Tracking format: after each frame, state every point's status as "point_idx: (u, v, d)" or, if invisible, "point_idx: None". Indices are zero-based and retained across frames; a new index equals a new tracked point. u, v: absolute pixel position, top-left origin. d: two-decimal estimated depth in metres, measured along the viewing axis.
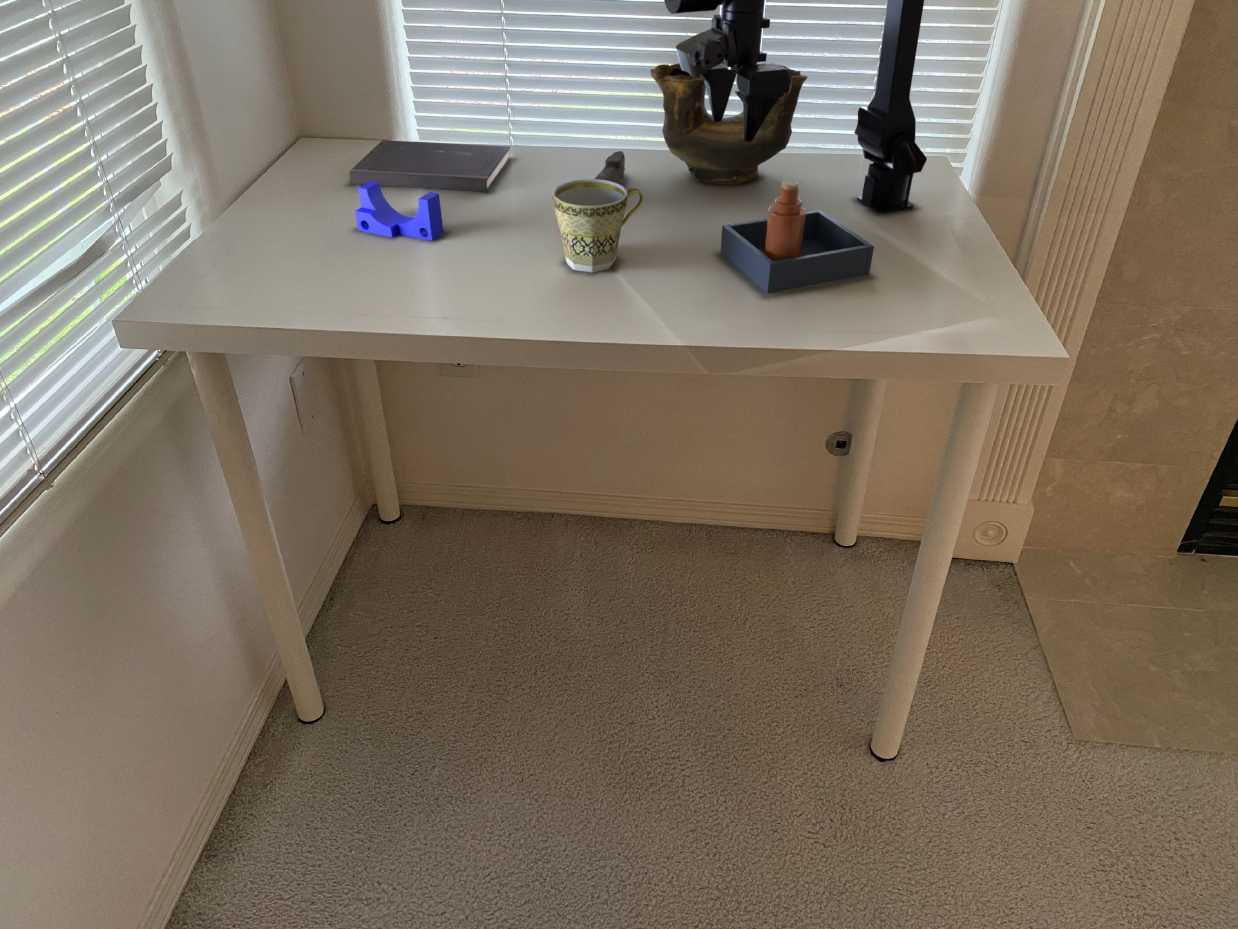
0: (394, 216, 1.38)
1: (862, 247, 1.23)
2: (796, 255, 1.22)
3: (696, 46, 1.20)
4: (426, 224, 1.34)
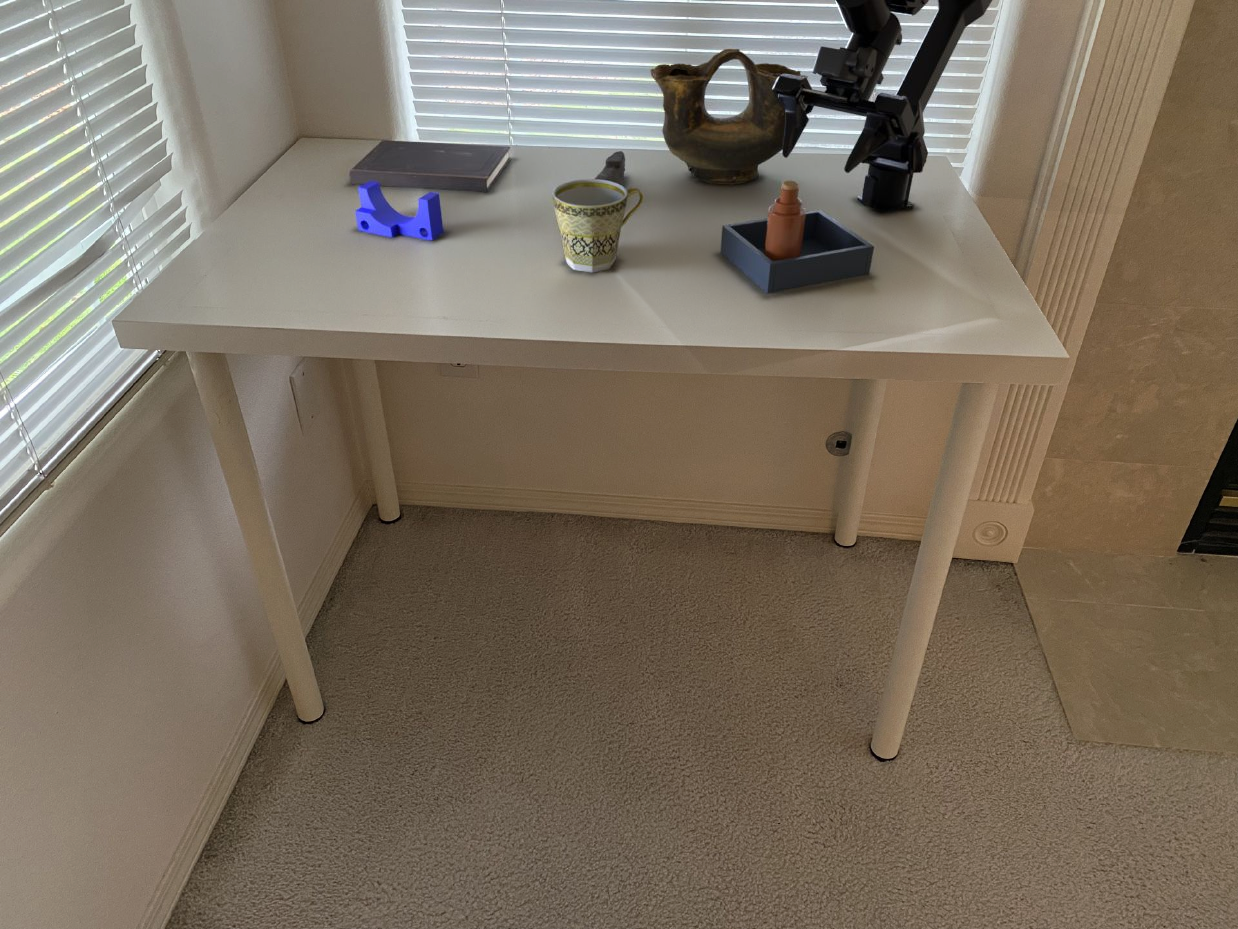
0: (394, 216, 1.38)
1: (862, 247, 1.23)
2: (796, 255, 1.22)
3: None
4: (426, 224, 1.34)
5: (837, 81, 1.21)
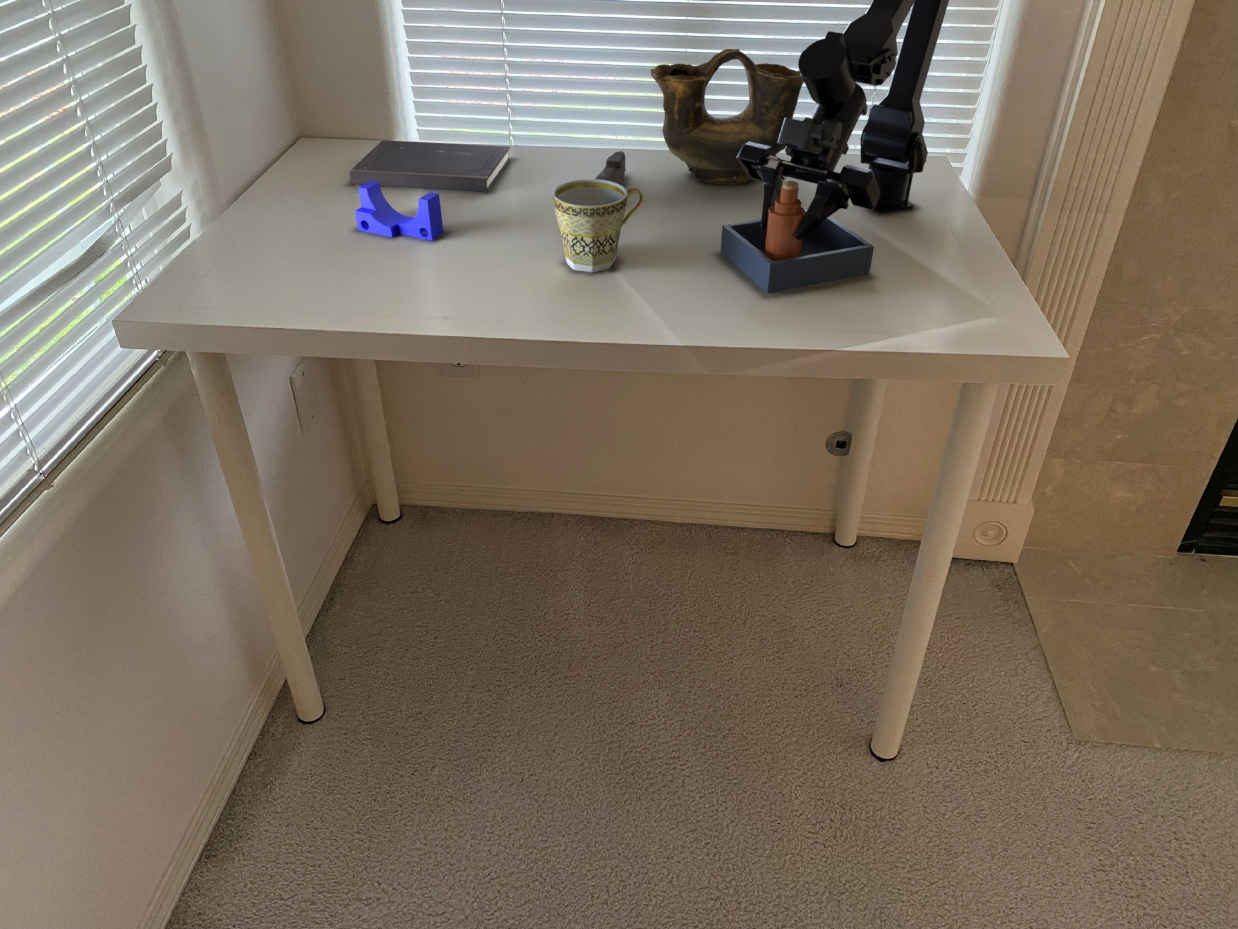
0: (394, 216, 1.38)
1: (862, 247, 1.23)
2: (796, 255, 1.22)
3: None
4: (426, 224, 1.34)
5: (802, 151, 1.19)
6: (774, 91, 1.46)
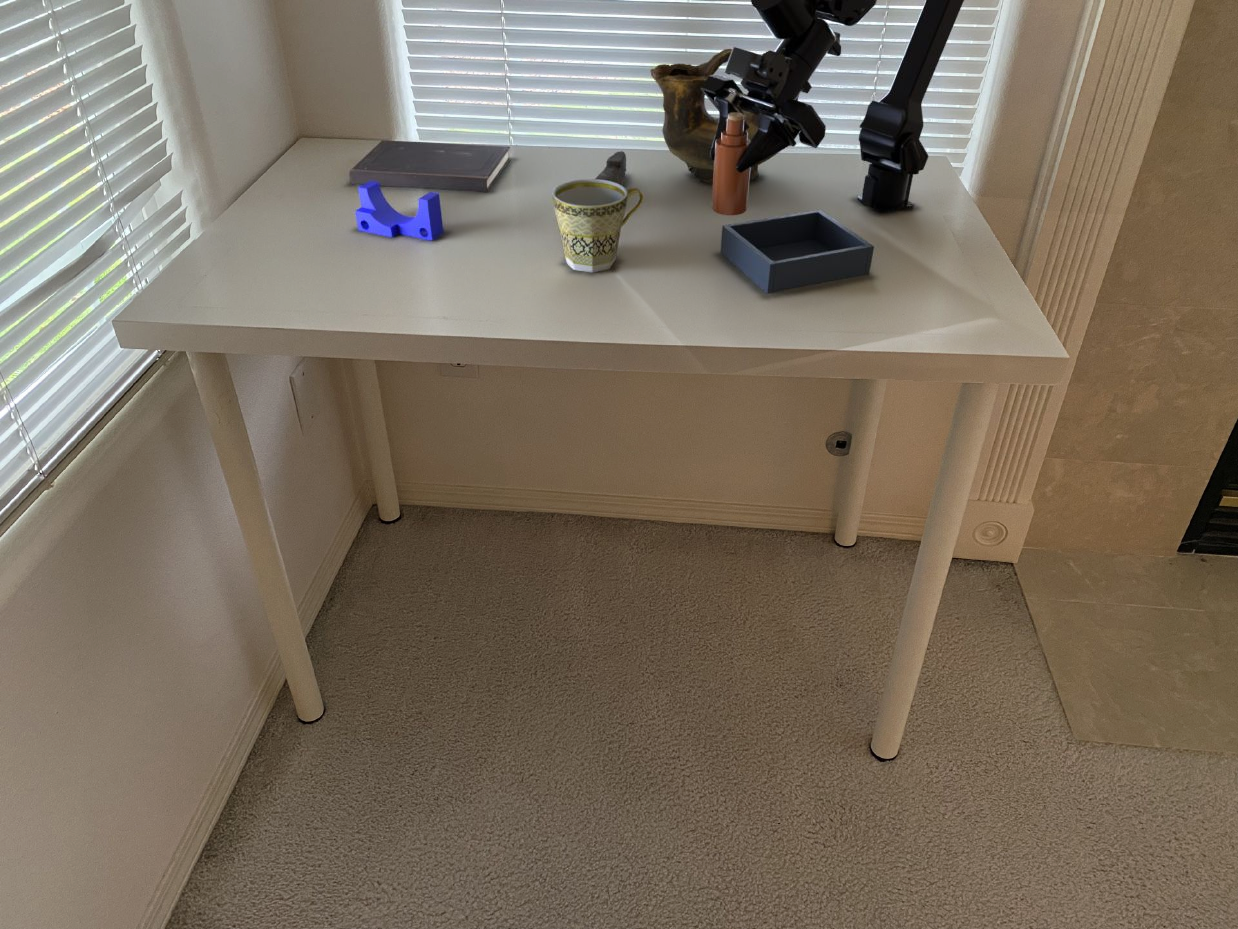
0: (394, 216, 1.38)
1: (862, 247, 1.23)
2: (740, 189, 1.23)
3: None
4: (426, 224, 1.34)
5: (755, 84, 1.20)
6: None
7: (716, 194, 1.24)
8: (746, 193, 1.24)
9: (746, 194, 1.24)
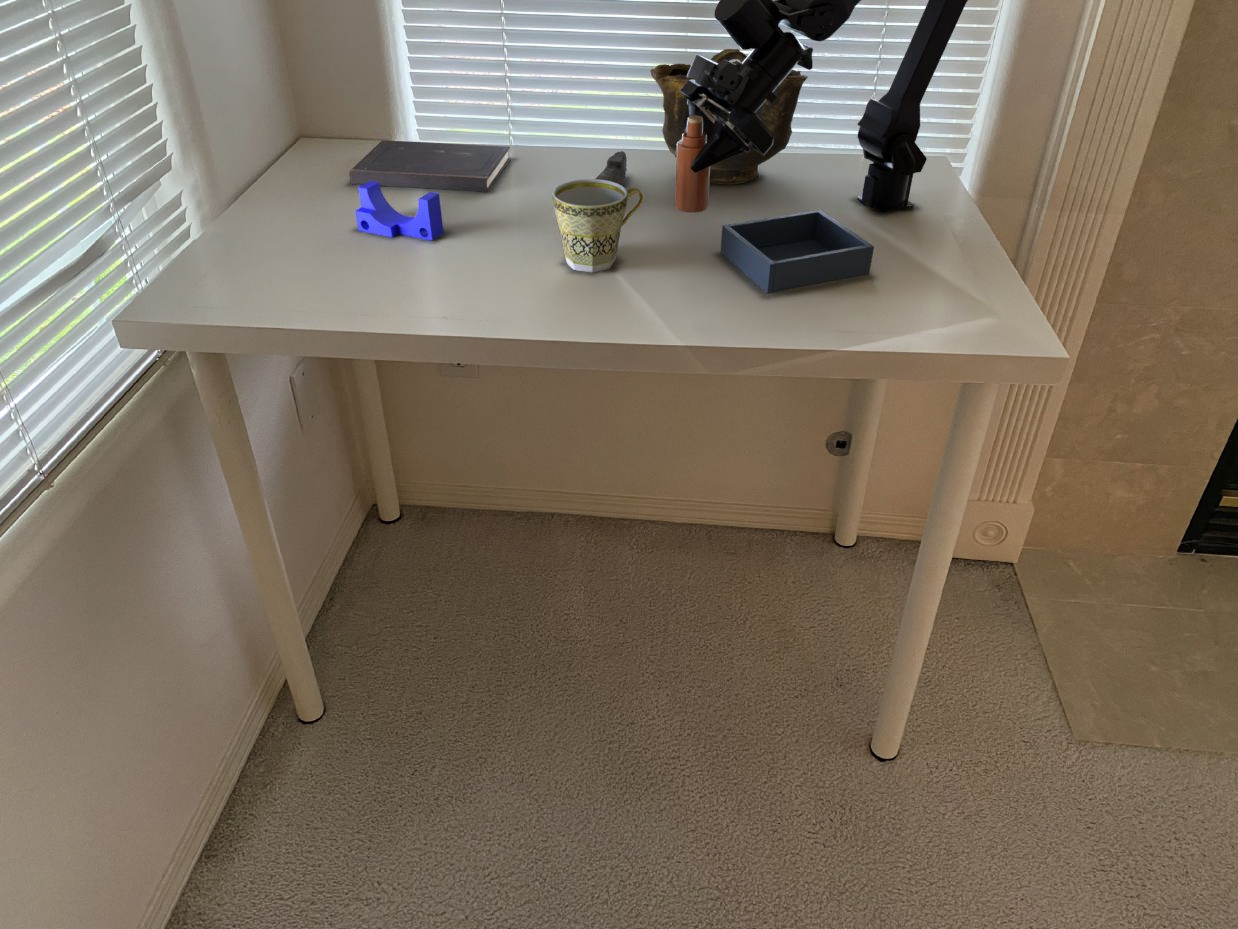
0: (394, 216, 1.38)
1: (862, 247, 1.23)
2: (696, 188, 1.30)
3: (716, 63, 1.22)
4: (426, 224, 1.34)
5: (719, 91, 1.27)
6: (774, 91, 1.46)
7: (676, 191, 1.32)
8: (704, 193, 1.31)
9: (704, 194, 1.31)
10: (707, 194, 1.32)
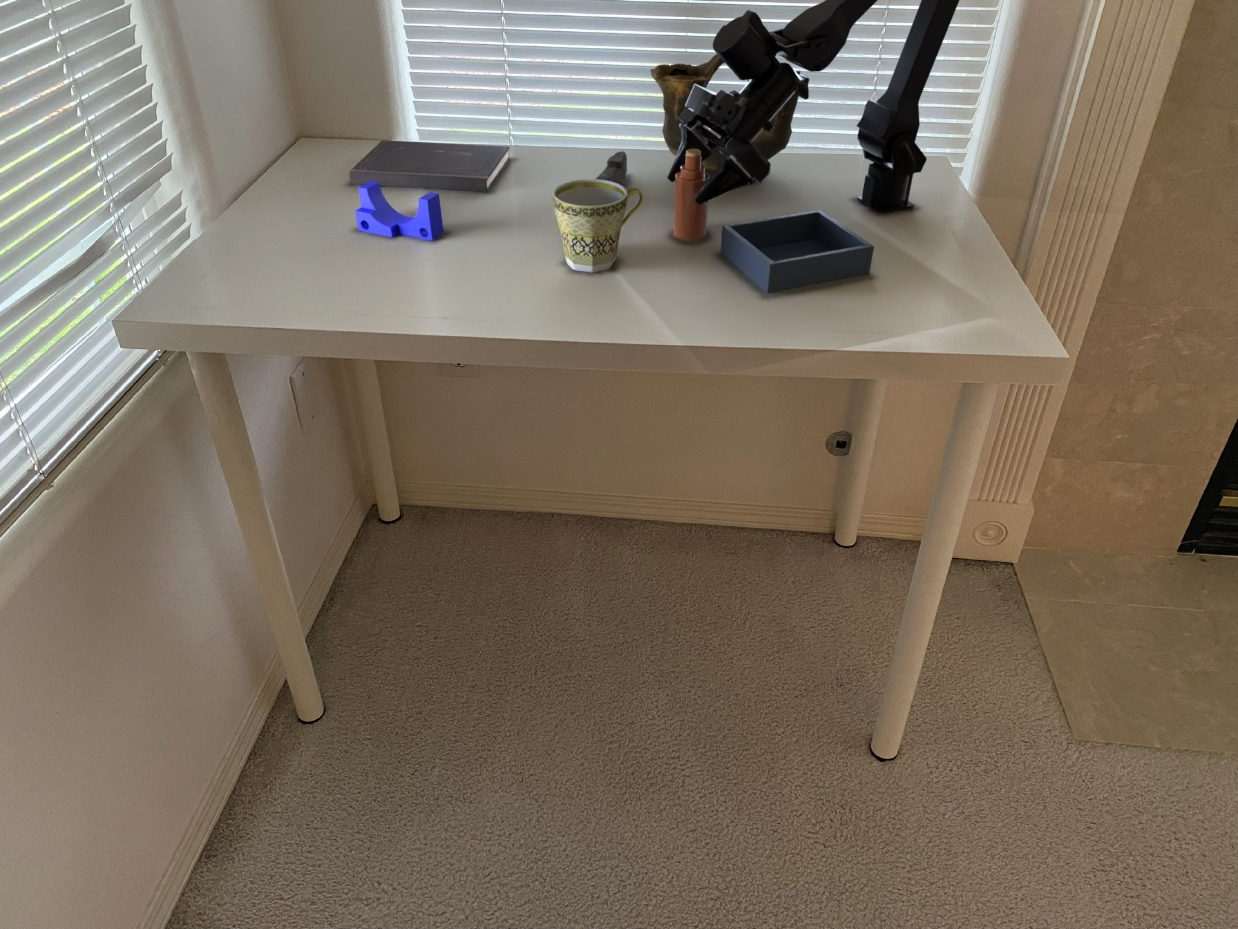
0: (394, 216, 1.38)
1: (862, 247, 1.23)
2: (694, 219, 1.33)
3: (714, 93, 1.25)
4: (426, 224, 1.34)
5: None
6: None
7: (674, 222, 1.35)
8: (702, 224, 1.34)
9: (702, 224, 1.34)
10: (705, 225, 1.35)
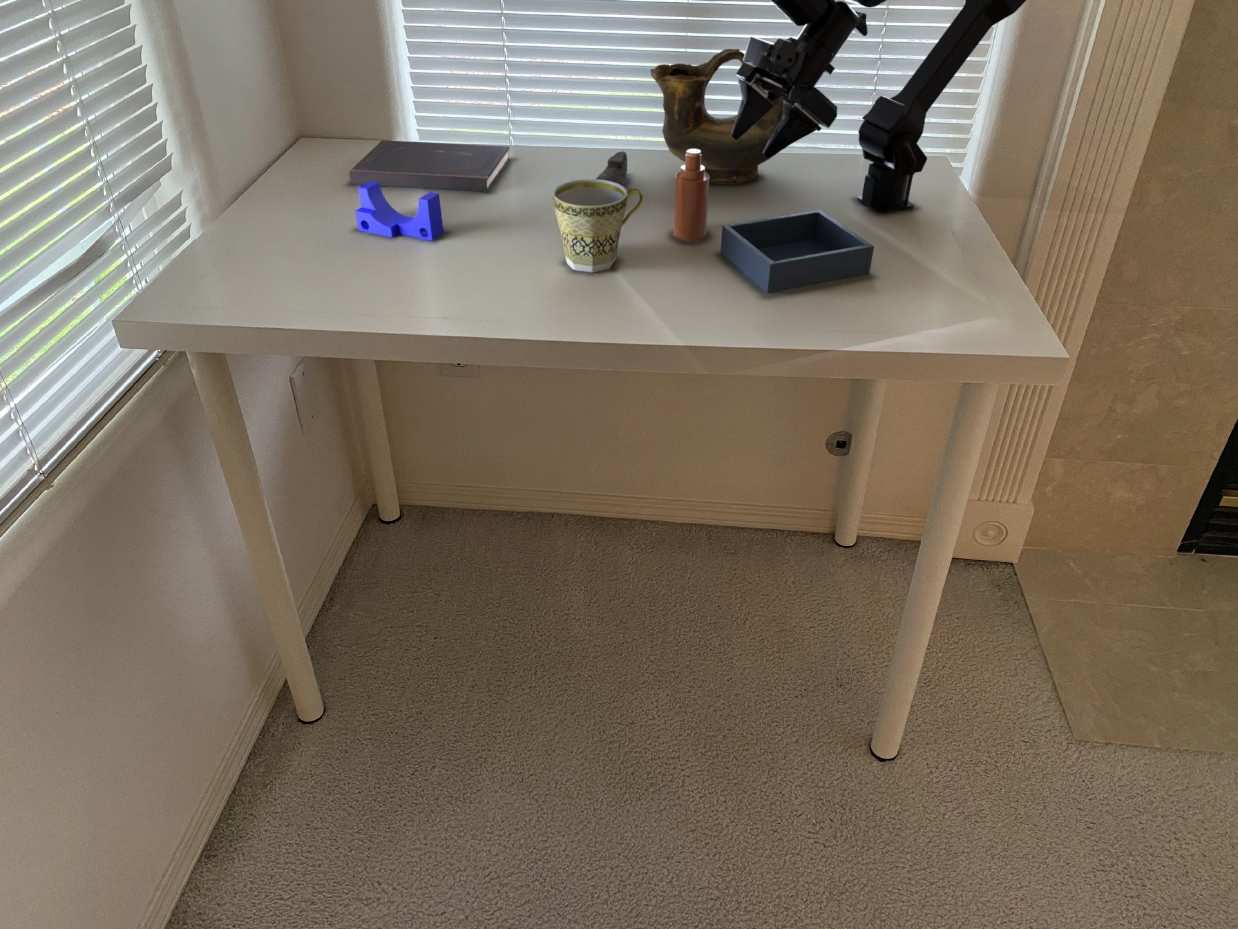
0: (394, 216, 1.38)
1: (862, 247, 1.23)
2: (694, 219, 1.33)
3: (771, 43, 1.23)
4: (426, 224, 1.34)
5: None
6: None
7: (674, 222, 1.35)
8: (702, 224, 1.34)
9: (702, 224, 1.34)
10: (705, 225, 1.35)
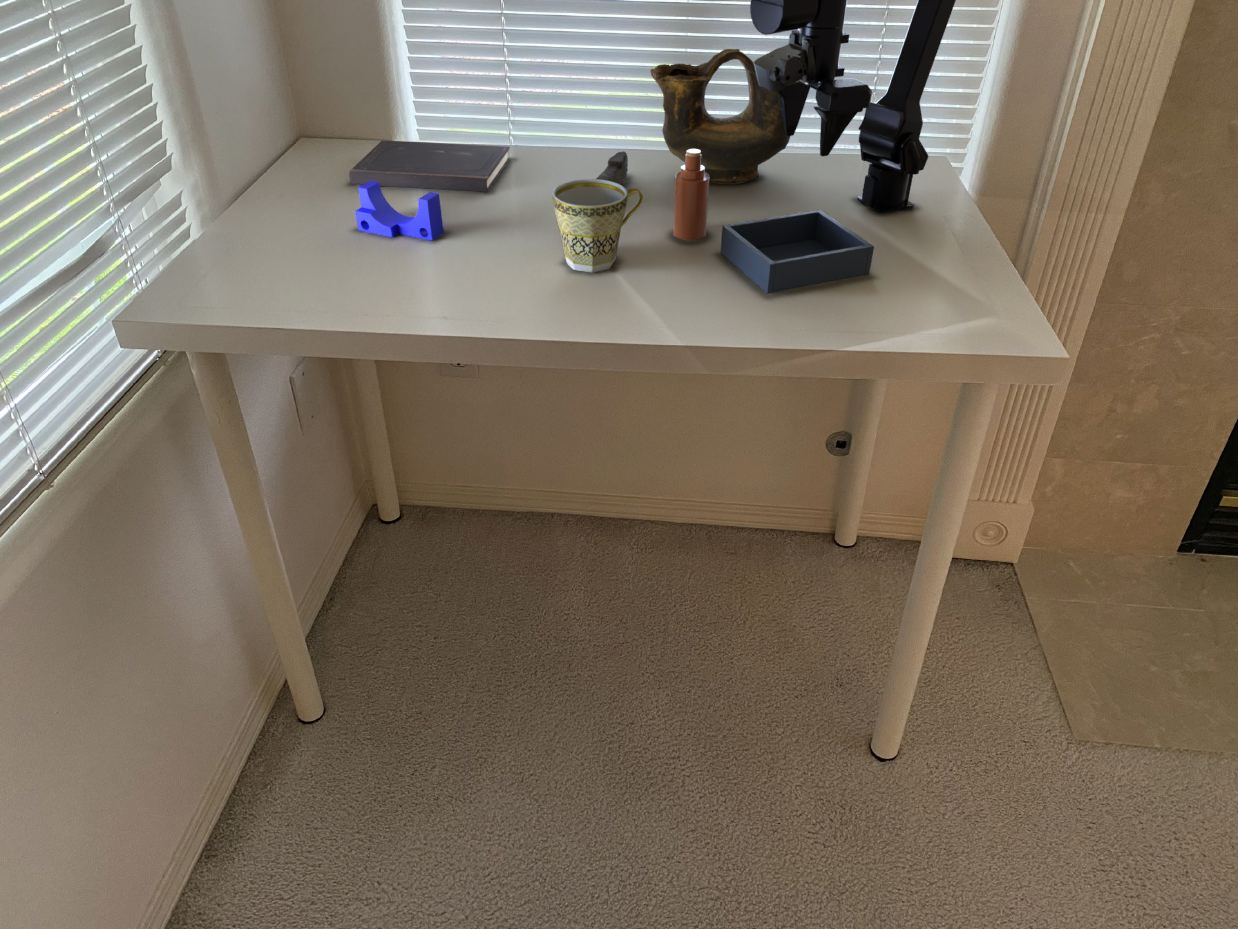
0: (394, 216, 1.38)
1: (862, 247, 1.23)
2: (694, 219, 1.33)
3: (775, 62, 1.20)
4: (426, 224, 1.34)
5: None
6: None
7: (674, 222, 1.35)
8: (702, 224, 1.34)
9: (702, 224, 1.34)
10: (705, 225, 1.35)
